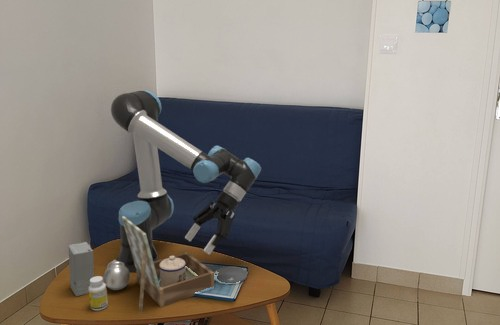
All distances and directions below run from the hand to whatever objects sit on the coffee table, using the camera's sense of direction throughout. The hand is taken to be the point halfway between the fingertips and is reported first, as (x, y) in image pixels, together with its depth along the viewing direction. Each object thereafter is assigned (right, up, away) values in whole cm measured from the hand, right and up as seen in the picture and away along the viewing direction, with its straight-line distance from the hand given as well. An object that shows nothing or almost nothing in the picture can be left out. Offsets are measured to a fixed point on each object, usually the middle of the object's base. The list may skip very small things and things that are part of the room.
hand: (196, 246), depth 162 cm
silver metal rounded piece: (-27, -14, -2) cm, 31 cm away
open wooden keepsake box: (-10, -15, -2) cm, 18 cm away
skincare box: (-39, -15, -3) cm, 41 cm away
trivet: (+12, -12, +5) cm, 17 cm away
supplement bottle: (-30, -17, -13) cm, 37 cm away
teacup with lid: (-7, -14, -1) cm, 16 cm away
